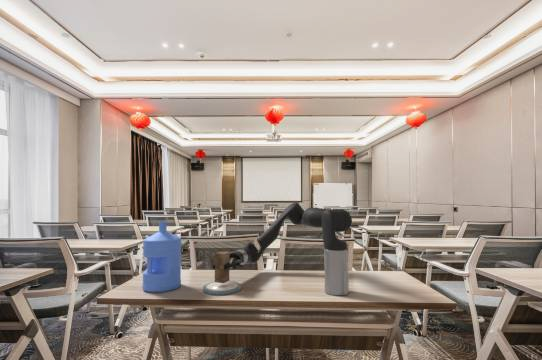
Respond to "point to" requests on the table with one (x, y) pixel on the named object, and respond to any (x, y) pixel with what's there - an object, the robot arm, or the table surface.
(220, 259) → the walnut block
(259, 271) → the table surface
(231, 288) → the teal dish
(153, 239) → the water jug
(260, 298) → the table surface
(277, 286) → the table surface
